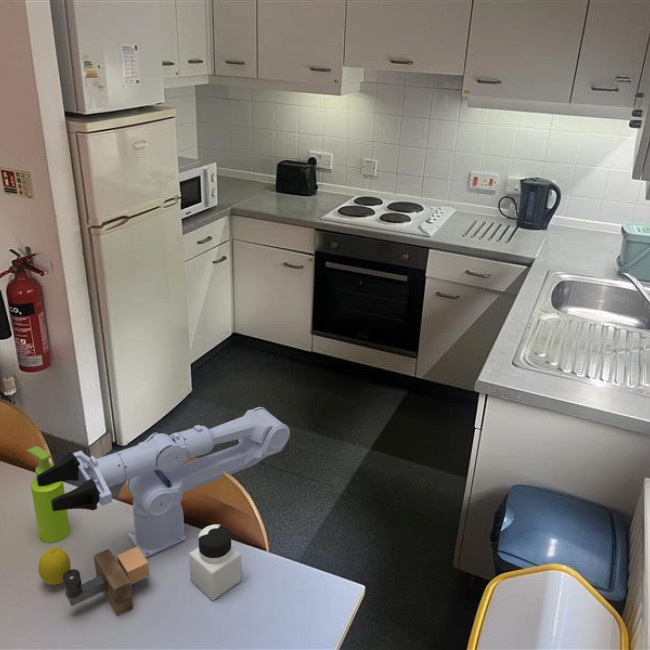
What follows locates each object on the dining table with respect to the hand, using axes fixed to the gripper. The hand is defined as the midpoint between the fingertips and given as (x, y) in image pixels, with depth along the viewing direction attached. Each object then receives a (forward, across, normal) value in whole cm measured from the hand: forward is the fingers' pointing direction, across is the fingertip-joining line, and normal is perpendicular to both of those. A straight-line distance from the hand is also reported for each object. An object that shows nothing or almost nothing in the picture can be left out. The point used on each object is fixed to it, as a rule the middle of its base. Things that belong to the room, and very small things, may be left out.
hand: (44, 493), depth 112 cm
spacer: (-12, +10, +18) cm, 23 cm away
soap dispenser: (-4, -13, +22) cm, 26 cm away
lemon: (0, +1, +22) cm, 22 cm away
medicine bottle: (-25, +18, +20) cm, 37 cm away
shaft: (-7, +10, +18) cm, 21 cm away
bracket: (-8, +10, +21) cm, 24 cm away
